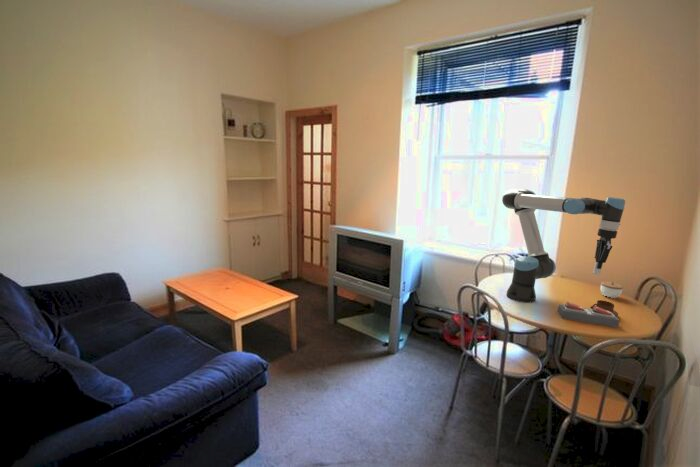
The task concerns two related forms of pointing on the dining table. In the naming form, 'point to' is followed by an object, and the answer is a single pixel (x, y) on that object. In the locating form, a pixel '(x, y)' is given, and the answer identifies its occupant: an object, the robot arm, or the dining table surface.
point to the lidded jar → (611, 289)
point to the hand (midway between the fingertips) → (596, 274)
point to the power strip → (588, 316)
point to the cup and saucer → (605, 306)
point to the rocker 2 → (602, 310)
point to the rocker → (574, 306)
